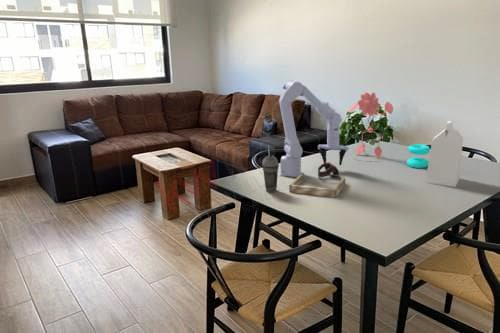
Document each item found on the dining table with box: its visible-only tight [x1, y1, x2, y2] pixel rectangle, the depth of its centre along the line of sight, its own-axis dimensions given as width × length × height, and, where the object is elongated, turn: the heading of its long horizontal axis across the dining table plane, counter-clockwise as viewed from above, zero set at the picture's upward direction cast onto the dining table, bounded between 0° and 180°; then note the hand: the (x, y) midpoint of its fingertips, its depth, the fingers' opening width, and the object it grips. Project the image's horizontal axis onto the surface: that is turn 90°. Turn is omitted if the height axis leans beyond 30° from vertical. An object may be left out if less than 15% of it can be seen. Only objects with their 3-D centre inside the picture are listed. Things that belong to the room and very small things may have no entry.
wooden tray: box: [288, 173, 346, 198], centre depth 165 cm, size 20×17×3 cm
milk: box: [425, 120, 464, 188], centre depth 163 cm, size 12×12×26 cm
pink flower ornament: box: [348, 92, 394, 163], centre depth 201 cm, size 15×26×35 cm, turn 43°
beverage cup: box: [261, 144, 280, 193], centre depth 162 cm, size 7×7×20 cm
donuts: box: [406, 143, 431, 169], centre depth 187 cm, size 10×10×10 cm
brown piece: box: [317, 161, 341, 180], centre depth 178 cm, size 12×10×8 cm
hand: (332, 163), depth 188 cm, fingers open, 7 cm apart
